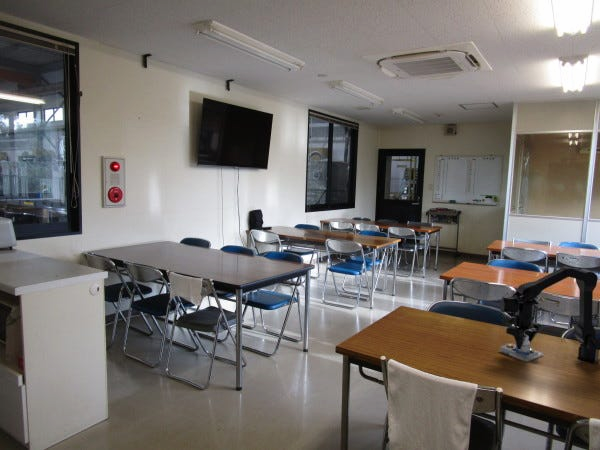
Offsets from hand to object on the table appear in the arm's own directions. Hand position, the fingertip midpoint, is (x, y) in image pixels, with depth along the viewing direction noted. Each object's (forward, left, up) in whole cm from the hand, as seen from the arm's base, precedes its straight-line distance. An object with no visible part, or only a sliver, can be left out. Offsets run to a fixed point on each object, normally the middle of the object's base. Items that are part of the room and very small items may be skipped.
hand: (523, 347), depth 187 cm
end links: (+2, -2, -4) cm, 5 cm away
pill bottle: (0, 0, -4) cm, 4 cm away
